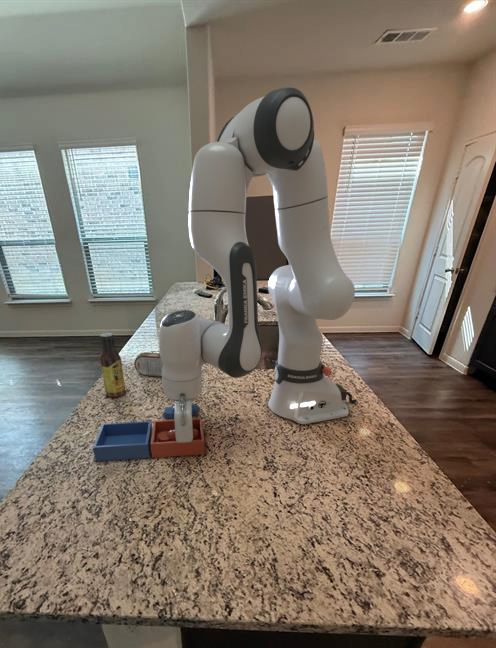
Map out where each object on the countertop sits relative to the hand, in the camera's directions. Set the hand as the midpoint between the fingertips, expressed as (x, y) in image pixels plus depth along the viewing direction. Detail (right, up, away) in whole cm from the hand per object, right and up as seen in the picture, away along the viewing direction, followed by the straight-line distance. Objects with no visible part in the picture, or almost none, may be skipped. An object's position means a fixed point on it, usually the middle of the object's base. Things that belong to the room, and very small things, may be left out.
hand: (185, 434), depth 77 cm
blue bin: (-15, -3, 0) cm, 15 cm away
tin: (-13, +15, +36) cm, 41 cm away
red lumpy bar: (-2, -2, +1) cm, 3 cm away
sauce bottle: (-24, +9, +25) cm, 36 cm away
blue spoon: (-2, +4, +13) cm, 13 cm away
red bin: (-2, -2, +1) cm, 3 cm away
